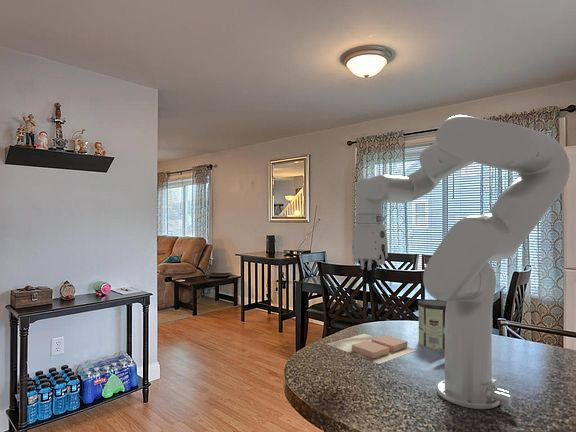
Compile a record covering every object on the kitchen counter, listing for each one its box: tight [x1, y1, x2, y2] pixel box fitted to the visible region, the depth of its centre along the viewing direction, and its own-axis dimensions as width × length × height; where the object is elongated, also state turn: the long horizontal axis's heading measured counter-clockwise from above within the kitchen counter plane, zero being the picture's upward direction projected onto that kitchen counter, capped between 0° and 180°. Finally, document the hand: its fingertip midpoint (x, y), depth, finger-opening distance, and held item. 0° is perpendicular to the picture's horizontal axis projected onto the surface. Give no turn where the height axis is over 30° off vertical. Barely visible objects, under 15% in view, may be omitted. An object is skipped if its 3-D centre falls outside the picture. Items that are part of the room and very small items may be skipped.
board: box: [326, 333, 417, 365], centre depth 111 cm, size 20×18×1 cm
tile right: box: [371, 334, 408, 352], centre depth 112 cm, size 2×7×8 cm
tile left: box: [352, 340, 389, 359], centre depth 107 cm, size 2×7×8 cm
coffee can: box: [417, 298, 447, 350], centre depth 116 cm, size 10×10×14 cm
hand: (368, 283), depth 108 cm, fingers closed
